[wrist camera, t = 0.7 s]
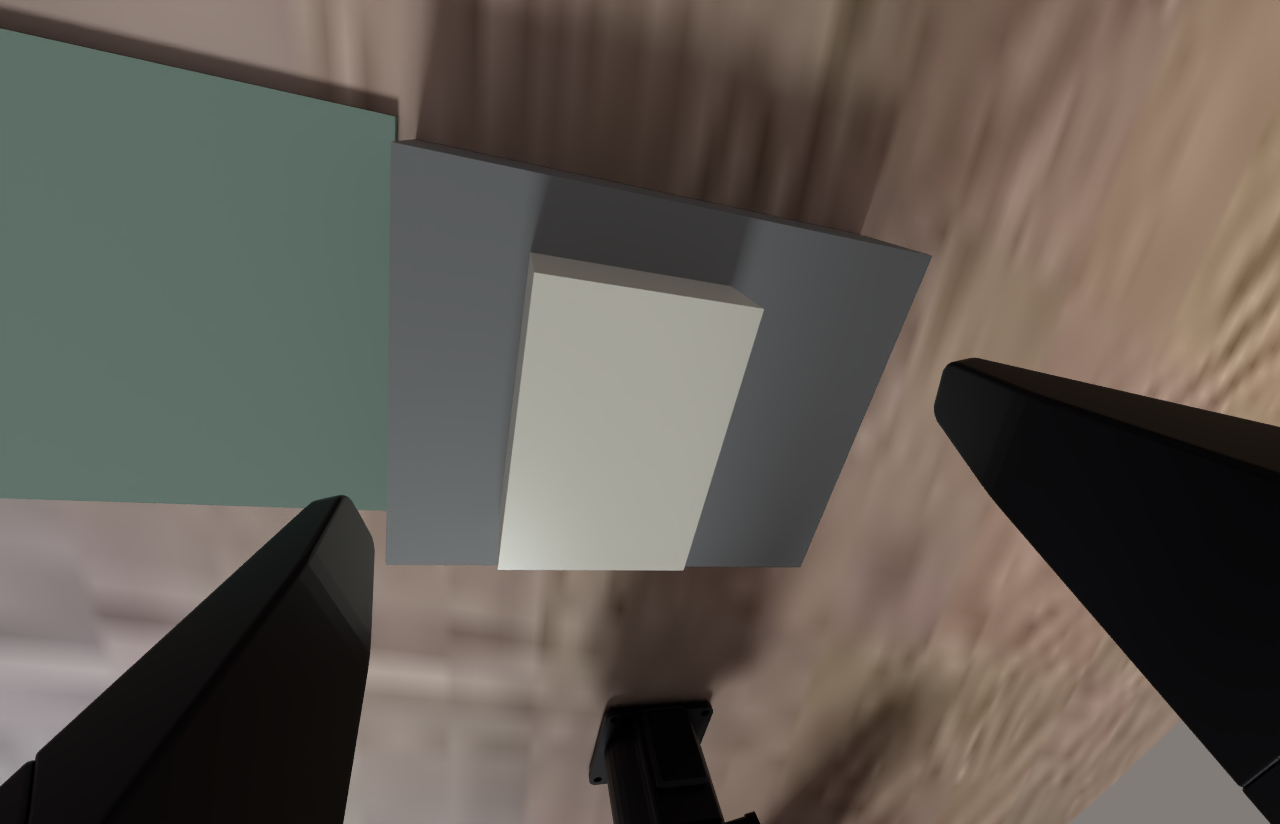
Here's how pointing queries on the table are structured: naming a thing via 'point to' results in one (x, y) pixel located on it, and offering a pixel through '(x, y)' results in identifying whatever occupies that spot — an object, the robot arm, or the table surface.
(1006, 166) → the table surface
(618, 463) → the block
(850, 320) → the grey flat box
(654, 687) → the table surface
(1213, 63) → the table surface
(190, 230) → the mat
